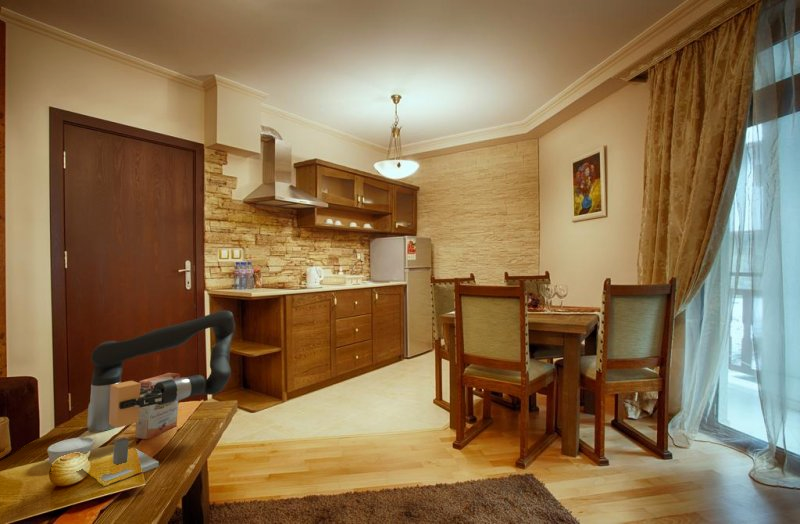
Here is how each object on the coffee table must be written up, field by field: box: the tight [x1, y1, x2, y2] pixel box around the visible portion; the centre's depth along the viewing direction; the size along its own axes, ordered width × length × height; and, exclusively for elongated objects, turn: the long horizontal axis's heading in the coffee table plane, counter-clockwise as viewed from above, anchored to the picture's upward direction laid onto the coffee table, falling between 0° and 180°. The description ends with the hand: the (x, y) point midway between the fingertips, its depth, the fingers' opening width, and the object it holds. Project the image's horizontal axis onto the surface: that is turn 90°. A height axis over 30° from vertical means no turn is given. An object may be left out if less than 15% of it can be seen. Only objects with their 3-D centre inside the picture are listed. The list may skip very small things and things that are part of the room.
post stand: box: [100, 436, 160, 482], centre depth 115 cm, size 18×14×8 cm
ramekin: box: [46, 436, 95, 465], centre depth 119 cm, size 11×11×5 cm
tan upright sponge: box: [109, 380, 140, 429], centre depth 116 cm, size 6×6×12 cm
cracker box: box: [134, 372, 181, 440], centre depth 143 cm, size 14×6×21 cm, turn 168°
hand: (115, 403), depth 114 cm, fingers closed on tan upright sponge, 5 cm apart
